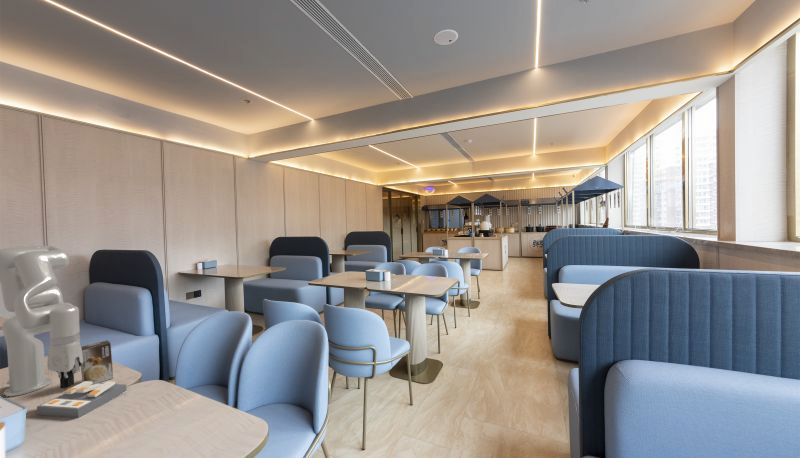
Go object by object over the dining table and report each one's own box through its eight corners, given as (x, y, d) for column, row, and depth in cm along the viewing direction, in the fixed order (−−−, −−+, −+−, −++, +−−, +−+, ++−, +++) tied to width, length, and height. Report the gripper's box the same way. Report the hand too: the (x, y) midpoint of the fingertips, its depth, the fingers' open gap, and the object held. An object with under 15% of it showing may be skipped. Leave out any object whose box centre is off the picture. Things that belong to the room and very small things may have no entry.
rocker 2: (75, 392, 112) (76, 389, 112) (96, 386, 119) (97, 383, 119) (83, 392, 112) (83, 389, 112) (104, 386, 119) (104, 383, 119)
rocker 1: (63, 393, 113) (63, 391, 113) (85, 383, 120) (85, 380, 120) (71, 394, 113) (70, 391, 112) (92, 383, 119) (92, 381, 119)
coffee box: (110, 374, 136) (108, 339, 135) (113, 378, 132) (111, 342, 131) (81, 383, 128) (79, 346, 128) (83, 388, 124) (81, 350, 124)
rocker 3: (87, 396, 112) (87, 394, 111) (108, 383, 118) (107, 380, 118) (95, 397, 111) (94, 394, 111) (115, 383, 118) (114, 381, 118)
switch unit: (37, 414, 107) (36, 404, 107) (89, 389, 123) (89, 380, 123) (78, 417, 104) (78, 407, 104) (126, 391, 120) (126, 382, 120)
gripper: (36, 342, 110) (38, 390, 111) (69, 344, 108) (71, 393, 109) (61, 334, 118) (63, 379, 118) (93, 336, 116) (95, 382, 116)
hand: (67, 386), depth 113 cm, fingers closed
